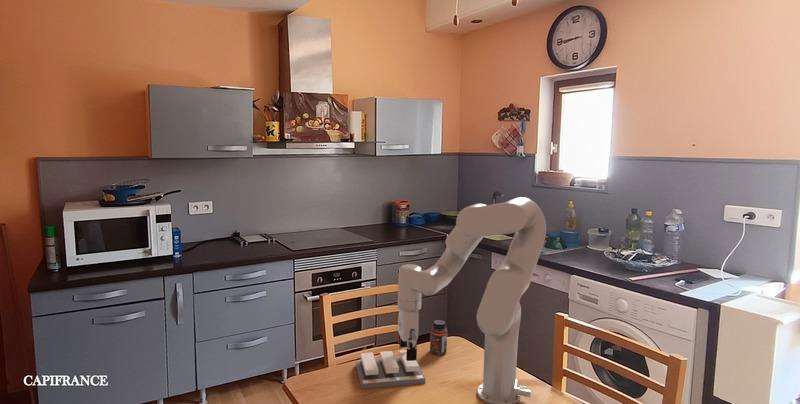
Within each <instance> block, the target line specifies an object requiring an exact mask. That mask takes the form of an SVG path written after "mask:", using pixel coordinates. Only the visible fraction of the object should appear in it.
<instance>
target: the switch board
mask: <svg viewBox="0 0 800 404" xmlns="http://www.w3.org/2000/svg"><path fill="white" fill-rule="evenodd" d="M395 360H396V362H397V364H398V367H399V373H387V374H386V372H385V369H384V366H383V363H382V361H381V359H375V361H376V364H377V367H378V374H376V375H365V372H364V368H363V364H362V361H361V360H360V361H355V368H356V372H357V375H358V379H359V380H358V381H359V384H360V387H361V389H362V390H363V389H374V388H375V389H377V388H385V387H386V388H387V387H396V386H397V387H398V386H409V385H417V384H419V385H420V384H426V377H425V374H424V373H423V371H422V369H421V367H420V366H419V371H410V372H406V369H405V367H404V365H403V363H402V361H401V358H400V357H397V358H396V357H395Z"/></svg>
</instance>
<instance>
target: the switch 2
mask: <svg viewBox="0 0 800 404" xmlns="http://www.w3.org/2000/svg"><path fill="white" fill-rule="evenodd" d="M406 353H407V349H399V350H398V356H399V358H401V361H402V363H403V365H404V367H405V369H406V372H410V371H419V367H420V365H419V363H418V361H417V359H416V360H414V361H407V360H406Z"/></svg>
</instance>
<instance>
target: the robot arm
mask: <svg viewBox="0 0 800 404" xmlns="http://www.w3.org/2000/svg"><path fill="white" fill-rule="evenodd" d="M455 224H456V225H455V226H454V227H453V229H452V230H451V232H450V233H449V234H448V235H447V237H446V239H445V245H446V248H445V250H444V251H443V253H442V254H441V256H440V257H439V259H438V260H437V261H436V263H435V264H434V265H432V266H431V267H429V268H427V269H424V270H423V269H422V267H421V266H420V265H417V264H411V263H406V264H401V266H399V268H398V280H397V281H398V283H397V285H398V286H397V287H398V288H397V295H398V296H397V308H398V319H397V331H398V334H399V336H400V338H399V340H400V341H399V347H400V348H406V350H407V353H406V360H407V361H414V360H416V361H417V359H418V358H417V355H418V353H417V352H418V344H417V340H418V339H419V311H420V310H421V309H422V295H425V296H433V295H435V294H436V293H438V292H439V291H440V290H441V291H442V289H443V288H445V287H446V286H448V285H449V284H450V283H451V282H452V280H453V279H454V278H455V277H456V275H457V274H458V273H459V272H460V271H461V269H462V267H463V266H464V264H465V263H466V261H467V260H468V258H469V257H470V256H471V254H472V252H473V251H474V250H475V248H476V247H478V245H479V243H480V242H482V240H483V238H484V237H492V236H499V235H500V236H501V235H510V234H514V235H513V237H512V240H511V241H510V245H509V247H508V250H507V254H506V256H505V258H504V260H503V262H502V264H501V265H500V266H499V267H498V268H496V270H495V271H493V272H492V274H491V276H490V277H489V279H488V281H487V283H486V287H485V290H484V292H483V295H482V298H481V300H480V303H479V305H478V309H477V312H476V323H477V326H478V328H479V330H480V331H481V332H482V333H483V334H484V335H485V336H484V351H483V352H484V354H483V373H482V377H483V378H482V383H480V384H479V385H478V386H477V389H476V390H477V392H476V393H477V396H478V398H479V399H480V400H482V401H483V402H484V403H486V404H517V403H518V402H520V401H521V396H523V397H525V398H531V393H532V390H531V389H530V390H529V389H528V386H526V385H520V384H518V379H517V363H518V362H517V361H518V346H519V344H518V343H519V331H520V324H521V319H522V318H521V317H522V308H521V307H522V306H521V304H520V301H521V298H522V295H524V293H525V292H526V291H527V290H528V289H529V287H530V284H531V281H532V278H533V275H534V273H535V269H536V267H537V264H538V261H539V258H540V256H541V253H542V250H543V246H544V244H545V241H546V236H547V235H546V234H547V221H546V217H545V215H544V213H543V210H542V209H541V208H540V207H539V205H538V204H537V203H536V202H535V201H533V199H532V200H531V199H530V198H528V197H523V196H520V197H515V198H512V199H509V200H507V201H505V202H500V203H493V204H484V203H474V204H472V205H469V206H466V207H464V208H462V209H461V210H460V211H459V213H458V214H457V217H456V220H455Z"/></svg>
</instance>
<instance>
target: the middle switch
mask: <svg viewBox="0 0 800 404" xmlns="http://www.w3.org/2000/svg"><path fill="white" fill-rule="evenodd" d="M379 357H380V360H381V361H382V363H383V366H384V369H385V372H386V374H387V373H399V367H398V364H397V362H396V360H395V358H396V357H395V355H394V353H393V351H392V350H390V351H389V350H388V351H387V350H386V351H380V352H379Z"/></svg>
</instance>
